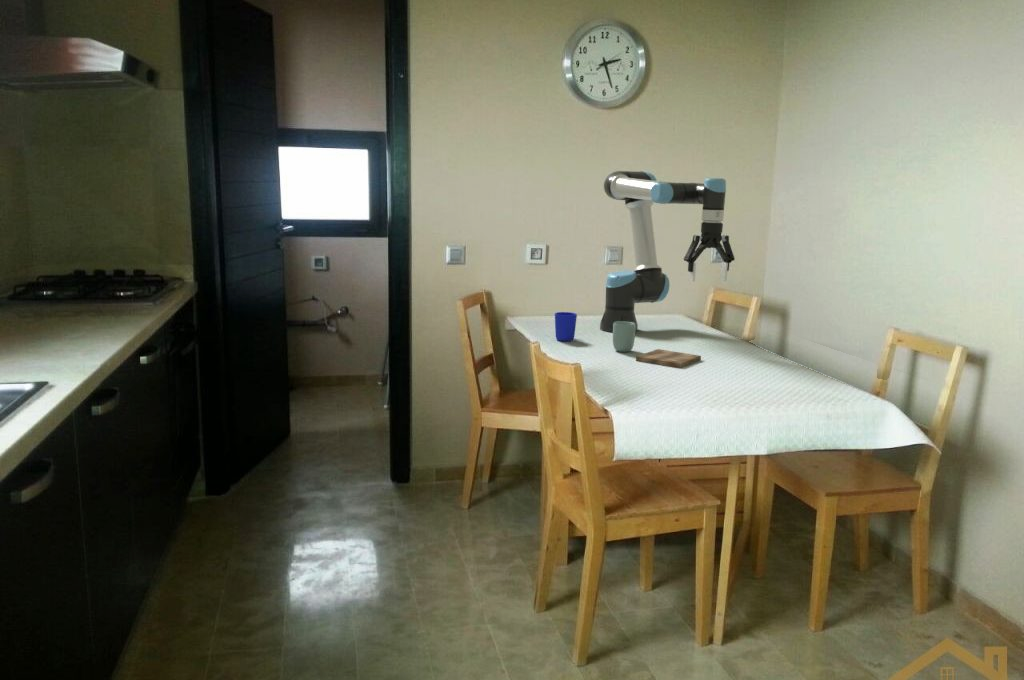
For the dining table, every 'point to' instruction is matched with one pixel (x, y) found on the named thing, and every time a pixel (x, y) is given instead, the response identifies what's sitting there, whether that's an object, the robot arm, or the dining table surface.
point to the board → (668, 358)
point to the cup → (623, 336)
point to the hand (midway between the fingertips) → (707, 280)
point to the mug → (565, 326)
